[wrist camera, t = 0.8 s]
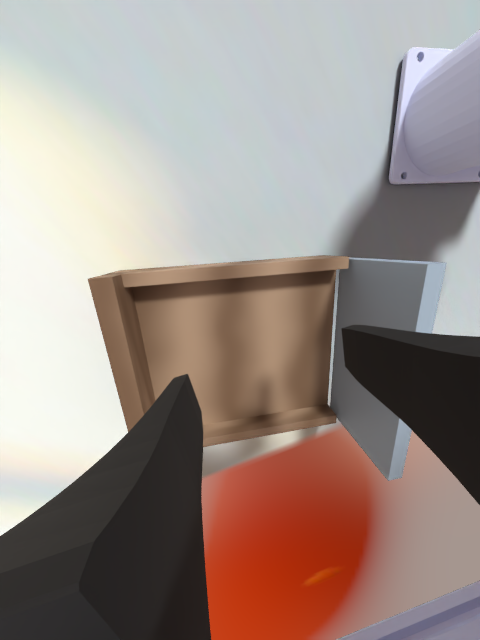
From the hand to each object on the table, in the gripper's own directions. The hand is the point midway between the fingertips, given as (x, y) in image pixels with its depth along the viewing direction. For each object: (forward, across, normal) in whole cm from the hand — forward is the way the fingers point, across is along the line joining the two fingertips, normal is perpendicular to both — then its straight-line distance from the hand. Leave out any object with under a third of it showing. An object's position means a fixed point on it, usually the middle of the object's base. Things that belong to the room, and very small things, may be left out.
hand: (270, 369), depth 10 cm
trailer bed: (+10, +1, +3) cm, 10 cm away
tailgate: (+8, -7, +4) cm, 11 cm away
